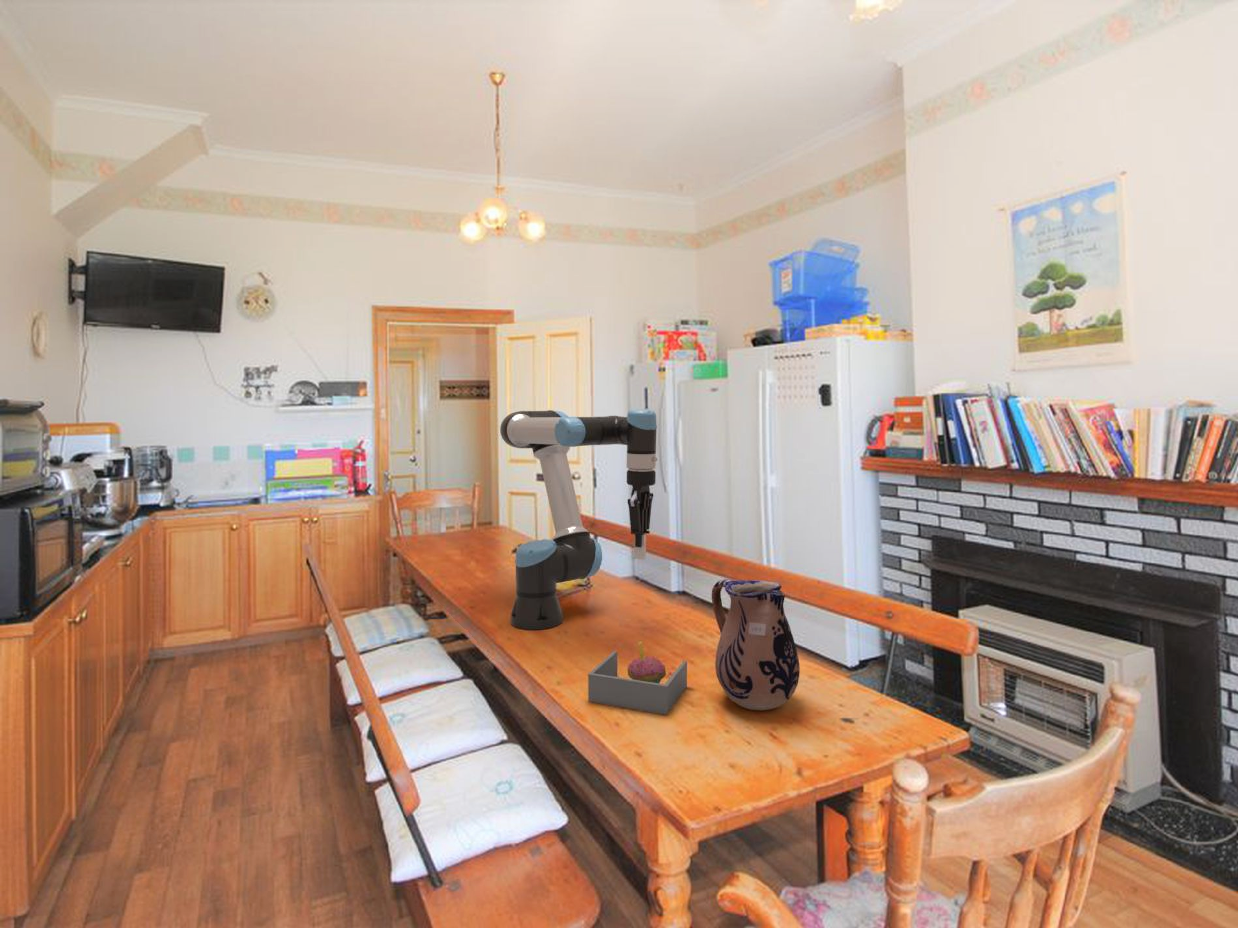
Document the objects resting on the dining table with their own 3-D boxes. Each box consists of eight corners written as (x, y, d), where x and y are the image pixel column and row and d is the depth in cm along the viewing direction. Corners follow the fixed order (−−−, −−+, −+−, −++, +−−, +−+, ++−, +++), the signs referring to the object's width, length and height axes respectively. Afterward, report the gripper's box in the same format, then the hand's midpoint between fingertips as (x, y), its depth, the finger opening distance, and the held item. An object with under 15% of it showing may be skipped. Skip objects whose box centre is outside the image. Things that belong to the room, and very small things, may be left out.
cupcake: (644, 701, 144) (644, 646, 143) (619, 688, 150) (619, 636, 149) (673, 690, 149) (673, 638, 148) (648, 678, 156) (648, 628, 155)
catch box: (588, 701, 144) (588, 674, 143) (614, 675, 157) (614, 650, 157) (667, 714, 137) (667, 686, 137) (686, 687, 151) (687, 661, 150)
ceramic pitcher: (773, 729, 131) (775, 603, 129) (685, 698, 145) (685, 584, 143) (813, 700, 144) (816, 585, 142) (729, 674, 158) (730, 569, 156)
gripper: (645, 473, 168) (644, 565, 170) (663, 467, 180) (661, 554, 182) (618, 471, 171) (617, 562, 173) (636, 466, 183) (635, 551, 185)
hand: (639, 558), depth 178 cm, fingers closed
